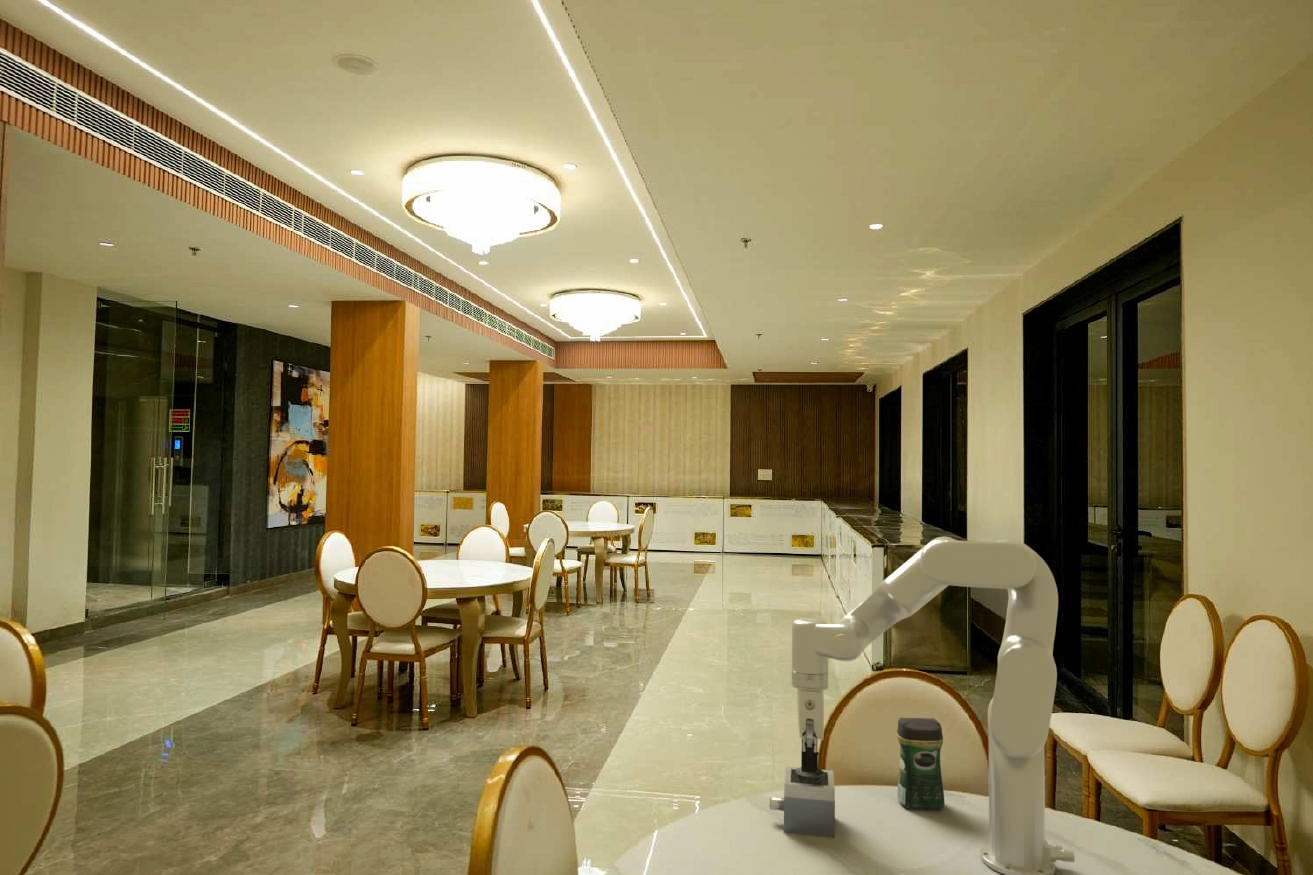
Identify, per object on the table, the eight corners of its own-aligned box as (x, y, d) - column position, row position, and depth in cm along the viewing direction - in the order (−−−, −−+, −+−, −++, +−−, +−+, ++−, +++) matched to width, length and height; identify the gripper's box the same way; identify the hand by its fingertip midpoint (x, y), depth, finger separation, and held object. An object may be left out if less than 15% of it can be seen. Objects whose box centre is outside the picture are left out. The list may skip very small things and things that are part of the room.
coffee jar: (936, 797, 174) (936, 713, 175) (948, 812, 166) (948, 724, 167) (893, 796, 174) (893, 712, 175) (903, 811, 166) (902, 723, 167)
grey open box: (833, 812, 165) (833, 767, 165) (834, 837, 153) (835, 788, 154) (771, 806, 167) (771, 761, 168) (768, 830, 156) (769, 782, 156)
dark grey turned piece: (790, 785, 161) (791, 726, 162) (815, 782, 163) (816, 724, 164) (804, 796, 156) (804, 735, 156) (829, 793, 157) (830, 733, 158)
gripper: (829, 691, 152) (829, 780, 151) (827, 670, 168) (827, 750, 167) (790, 688, 153) (790, 777, 152) (792, 668, 170) (791, 747, 169)
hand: (809, 763), depth 160 cm, fingers open, 9 cm apart
